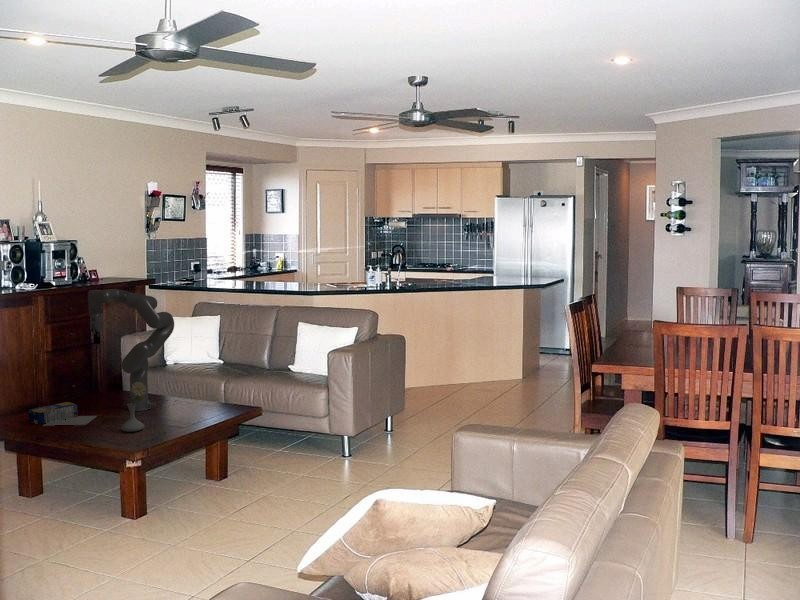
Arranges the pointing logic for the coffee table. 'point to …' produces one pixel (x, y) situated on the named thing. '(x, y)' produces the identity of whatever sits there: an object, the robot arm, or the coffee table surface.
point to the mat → (72, 421)
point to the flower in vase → (133, 423)
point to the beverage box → (53, 413)
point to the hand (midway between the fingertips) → (97, 343)
